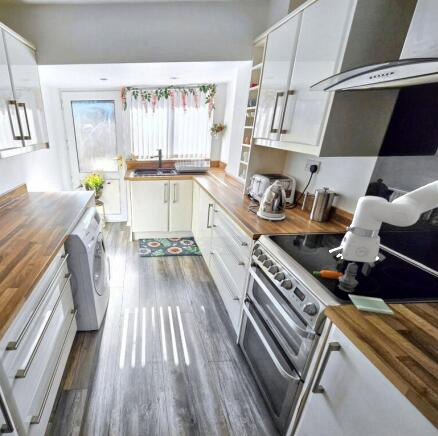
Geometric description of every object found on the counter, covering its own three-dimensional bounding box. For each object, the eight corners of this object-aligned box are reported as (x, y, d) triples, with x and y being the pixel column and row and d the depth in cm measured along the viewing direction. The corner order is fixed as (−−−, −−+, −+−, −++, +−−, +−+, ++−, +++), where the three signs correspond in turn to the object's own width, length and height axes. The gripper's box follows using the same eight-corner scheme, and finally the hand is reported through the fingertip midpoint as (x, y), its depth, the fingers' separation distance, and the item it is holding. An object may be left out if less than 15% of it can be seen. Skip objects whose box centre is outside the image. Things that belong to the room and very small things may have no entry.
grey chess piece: (353, 294, 90) (362, 267, 86) (334, 287, 94) (342, 261, 90) (357, 288, 94) (366, 261, 89) (338, 281, 98) (346, 256, 94)
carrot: (346, 277, 100) (348, 271, 99) (350, 282, 97) (352, 275, 96) (312, 273, 104) (313, 267, 103) (314, 277, 101) (315, 271, 100)
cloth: (348, 295, 90) (348, 294, 90) (380, 299, 87) (381, 298, 87) (358, 309, 83) (358, 308, 83) (394, 315, 80) (395, 314, 80)
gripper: (339, 232, 84) (327, 274, 91) (401, 237, 79) (384, 281, 86) (331, 224, 91) (320, 264, 97) (387, 228, 86) (373, 270, 92)
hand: (350, 272), depth 91 cm, fingers open, 8 cm apart
